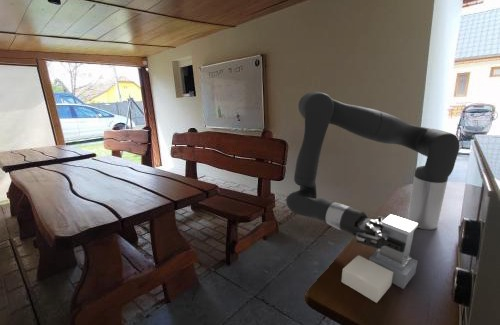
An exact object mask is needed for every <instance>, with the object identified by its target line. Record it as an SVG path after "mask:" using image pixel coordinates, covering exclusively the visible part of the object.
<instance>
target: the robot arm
mask: <svg viewBox="0 0 500 325" xmlns="http://www.w3.org/2000/svg"><path fill="white" fill-rule="evenodd" d="M297 106H298V112H299V113H300V115H301V116H302V118H303V119H304V132H303V133H304V135H303V139H302V144H301V147H300V149H299V151H298V155H297V158H296V163H295V169H294V177H293V179H294V183H295V184H296V185H297V186H299V189H298V190H297V191H293V192H291V193H289V195H287V197H286V201H285V202H286V203H285V204H286V206H287V208H288V209H289V210H290V211H291V212H292V213H294V214H296V215H297V216H302V217H303V216H304V217H307V218H312V219H313V218H314V219H316V220H319V221H321V222H323V223H326V224H327V225H329V226H331V227H333V228H334V229H337V230H339V231H341V232H343V233H346V234H347V235H350V236H353V237H356V241H355V242H356V243H358V244H362V245H366V246H369V247H372V248H375V249H377V250H378V249H381V247H382V246H383V247H390V248H392V249H394V250H396V251H399V252H404V250H405V244H403V243H401V242H399V241H396V240H394V239H391V238H389V239H388V237H387V236H385V235H382V233H383V227H384V226H383V225H381V223H382V221H383V220H384V219H385V218H386V217H383V216H382V215H378V218H377V219H374V218H370V217H368V216H367V214H366V212H365V211H362V210H360V209H357V208H354V207H352V206H348V205H346V204H343V203H339V202H336V201H333V200H331V199H327V198H325V197H318V196H317V185H316V179H317V175H318V168H319V163H320V156H321V151H322V147H323V143H324V140H325V136H326V134H327V131H328V128H329V125H334V126H336V127H338V128H341V129H343V130H345V131H348V132H349V133H352V134H354V135H356V136H359V137H362V138H364V139H367V140H369V141H370V140H371V141H374V142H377V143H382V144H389V145H391V144H392V145H399V146H402V147H404V148H408V149H410V150H411V151H415V152H417V153H419V154H420V155H423V156H425V157H426V161H425V164H424V165H421V166H418V167H416V168H415V170H414V176H413V182H412V186H411V187H412V189H411V193H410V197H409V198H410V199H409V205H408V209H407V215H406V219H407V220H410V221H413V222H415V223H418V227H417V228H418V229H422V230H426V231H427V230H429V231H430V230H435V229H436V228H438V224H439V221H440V215H441V212H442V206H443V202H444V197H445V193H446V189H447V183H448V180H449V177H450V176H451V174H452V173H453V171H454V167H455V164H456V161H457V157H458V155H459V150H460V140H459V138H458V136H457V135H456V134H453V133H452V132H447V131H444V130H442V129H441V130H440V129H436V128H431V127H430V128H429V127H424V126H419V125H414V124H410V123H407V122H406V121H404V120H403V119H401V118H399V117H397V116H394V115H392V114H389V113H387V112H384V111H382V110H381V111H380V110H377V109H374V108H369V107H364V106H360V105H354V104H348V103H345V102H344V103H343V102H341V101H338V100H336V99H333V98H332V97H331V96H330V95H329V94H328V93H324V92H321V91H310V92H307V93H305V94H304V95H302V97H300V99H299V101H298V105H297ZM317 197H318V198H317ZM413 240H414V238H413V239H412V242H413Z"/></svg>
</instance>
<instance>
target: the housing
mask: <svg viewBox="0 0 500 325" xmlns="http://www.w3.org/2000/svg"><path fill="white" fill-rule="evenodd" d="M384 218H385V219H384V220H383V221H382V223H381V225H383V226H384V227H383V231H382V232H383V233H382V235H385V236H387V237H388V239H389V238H391V239H394V240H396V241H399V242H401V243H403V244H405V250H404V252H399V251H396V250H394V249H392V248H390V247H383V246H382V247H381V249H380V252H379V253H378V254H377V256H376V258H378V259H380V260H382V261H384V262H386V263H388V264H390V265H392V266H394V267H396V268H399V269H401V270H403V269H404V268H405V267H406V266H407V264H408V263H409V262H410V261H411V258H412V256H410V254H411V248H412V243H413V241H412V239H413V240H414V233H415V230H416V229H417V228H418V223H415V222H413V221H410V220H407V218H403V217H400V216H399V215H398V216H397V215H395V214H392V213H390V214H389V215H388V216H386V217H384Z"/></svg>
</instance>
